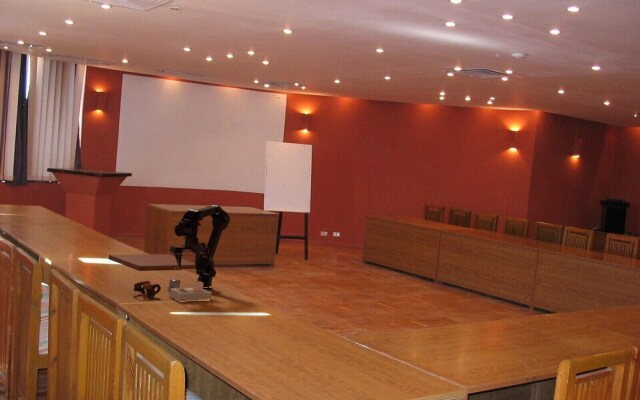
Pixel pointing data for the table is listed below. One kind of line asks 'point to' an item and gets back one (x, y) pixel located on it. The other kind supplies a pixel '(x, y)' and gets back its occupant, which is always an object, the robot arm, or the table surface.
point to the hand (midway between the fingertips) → (187, 267)
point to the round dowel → (174, 284)
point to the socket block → (188, 294)
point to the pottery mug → (147, 289)
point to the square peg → (198, 286)
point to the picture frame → (151, 261)
